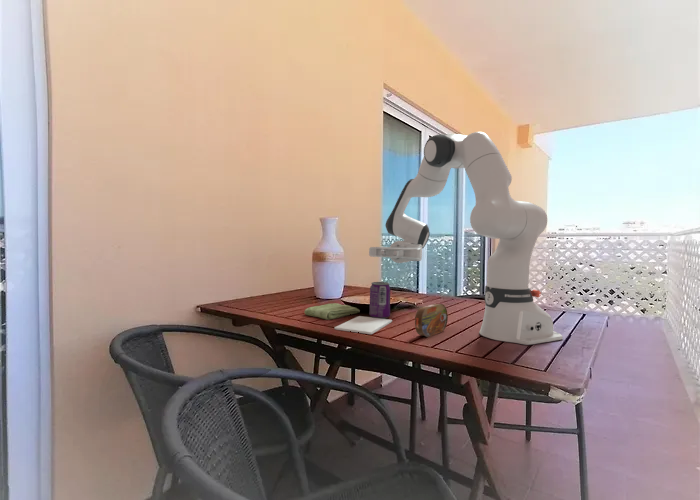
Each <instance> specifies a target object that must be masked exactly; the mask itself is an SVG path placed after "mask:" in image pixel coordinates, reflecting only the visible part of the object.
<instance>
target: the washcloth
mask: <svg viewBox="0 0 700 500" xmlns="http://www.w3.org/2000/svg"><path fill="white" fill-rule="evenodd" d="M360 311H361V310H360V309H359V308H357V307H354V306H351V305H348V304H344V305H343V304H341V303H338V302H337V303H335V302H333V303H325V304H321V305H315V306H310V307H307V308H305V310H304V312H303V313H304V315H306V316H310V317H314V318H319V319H323V320H327V321H328V320H329V321H330V320H335V319H339V318H344V317H346V316H350V314H351V315H355V314H358V313H360Z"/></svg>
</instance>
